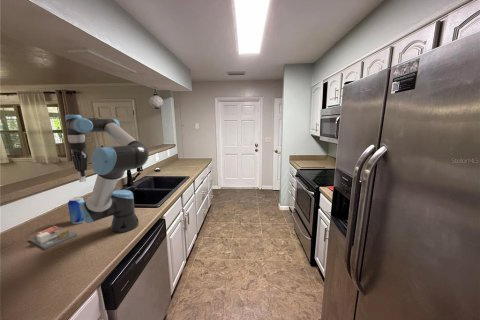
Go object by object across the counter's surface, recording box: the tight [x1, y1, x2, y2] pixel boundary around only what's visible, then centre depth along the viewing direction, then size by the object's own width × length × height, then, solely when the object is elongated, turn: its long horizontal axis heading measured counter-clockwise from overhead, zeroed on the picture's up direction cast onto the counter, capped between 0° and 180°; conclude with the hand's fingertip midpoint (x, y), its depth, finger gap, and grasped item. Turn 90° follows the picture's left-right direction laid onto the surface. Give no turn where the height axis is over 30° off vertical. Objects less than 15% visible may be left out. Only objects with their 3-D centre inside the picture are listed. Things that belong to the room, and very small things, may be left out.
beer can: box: [67, 196, 86, 225], centre depth 128 cm, size 8×8×16 cm
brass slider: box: [56, 228, 70, 239], centre depth 110 cm, size 4×4×4 cm
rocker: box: [36, 225, 59, 236], centre depth 112 cm, size 5×8×1 cm, turn 155°
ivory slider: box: [36, 232, 51, 243], centre depth 107 cm, size 4×4×4 cm
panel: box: [28, 226, 78, 250], centre depth 111 cm, size 18×14×2 cm
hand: (82, 181), depth 118 cm, fingers closed
